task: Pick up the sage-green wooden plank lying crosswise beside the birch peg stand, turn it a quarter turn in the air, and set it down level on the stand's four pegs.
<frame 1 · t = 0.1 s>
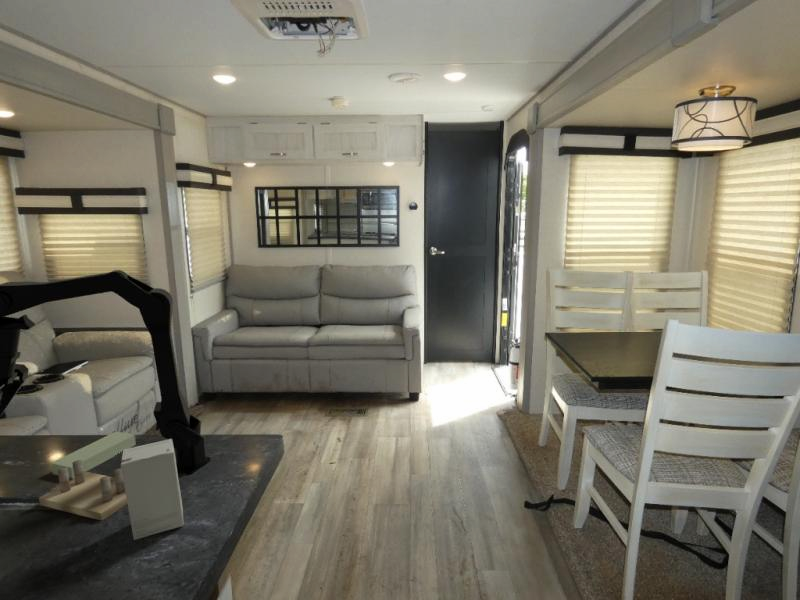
peg stand: (94, 497, 95), on the counter
plank: (96, 460, 110), on the counter
skincare box: (158, 526, 86), on the counter
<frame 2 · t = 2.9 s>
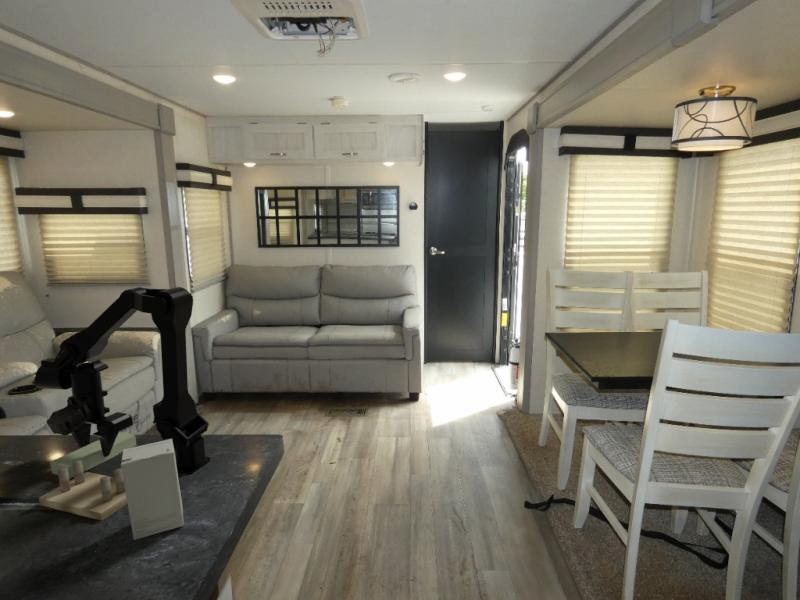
hand: (96, 454, 110), 1 cm above the counter, tool pointing down, fingers closed on plank, 6 cm apart
plank: (96, 459, 110), on the counter, touching gripper
everything else where it was.
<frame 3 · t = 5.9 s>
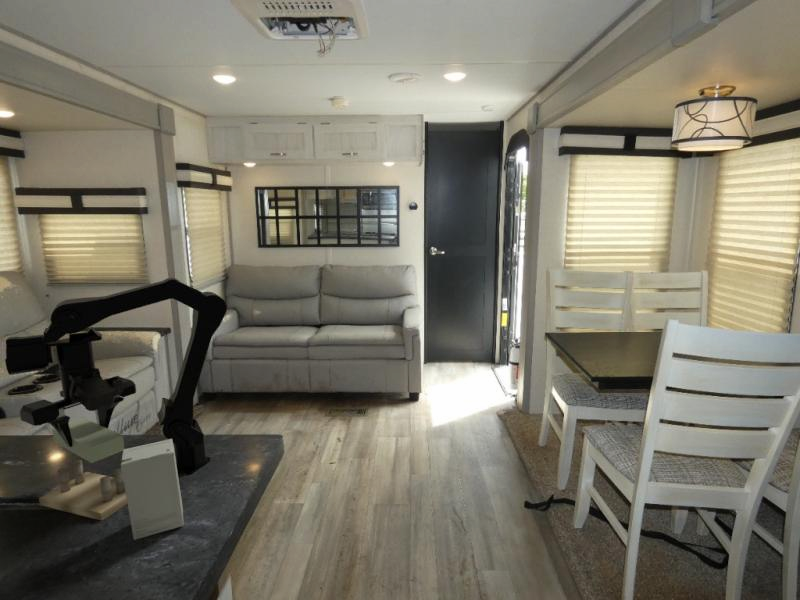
hand: (87, 439, 96), 11 cm above the counter, tool pointing down, fingers closed on plank, 6 cm apart
plank: (88, 445, 96), point 10 cm above the counter, touching gripper
everything else where it was.
when the fingers open (8 cm above the counter, at t = 7.8 s): plank stays where it is, resting on peg stand.
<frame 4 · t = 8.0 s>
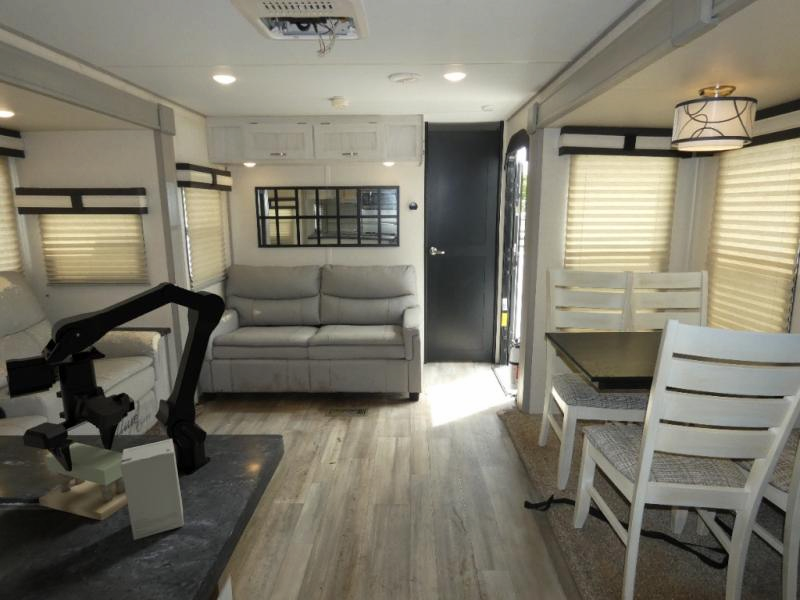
hand: (89, 460, 93), 8 cm above the counter, tool pointing down, fingers open, 8 cm apart
plank: (90, 469, 94), point 6 cm above the counter, touching peg stand
everything else where it was.
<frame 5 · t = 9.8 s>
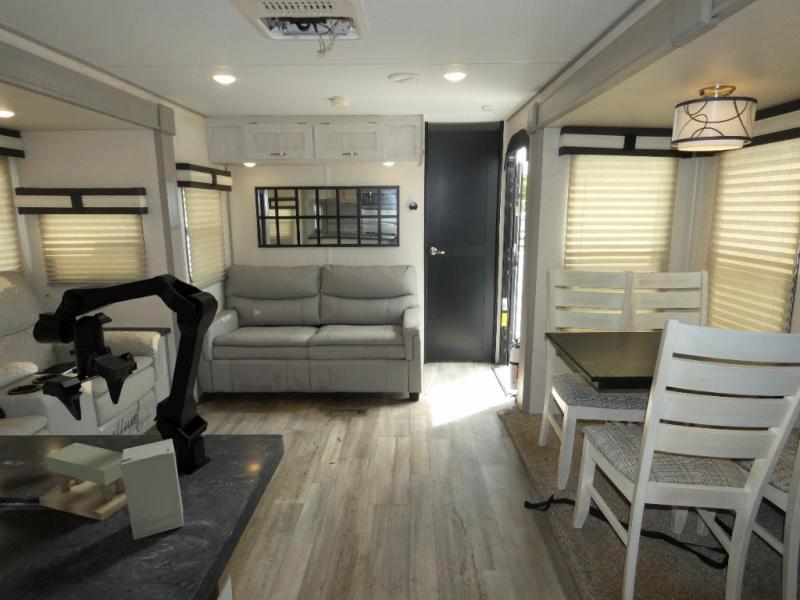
hand: (97, 411, 106), 12 cm above the counter, tool pointing down, fingers open, 9 cm apart
nothing on the counter moved.
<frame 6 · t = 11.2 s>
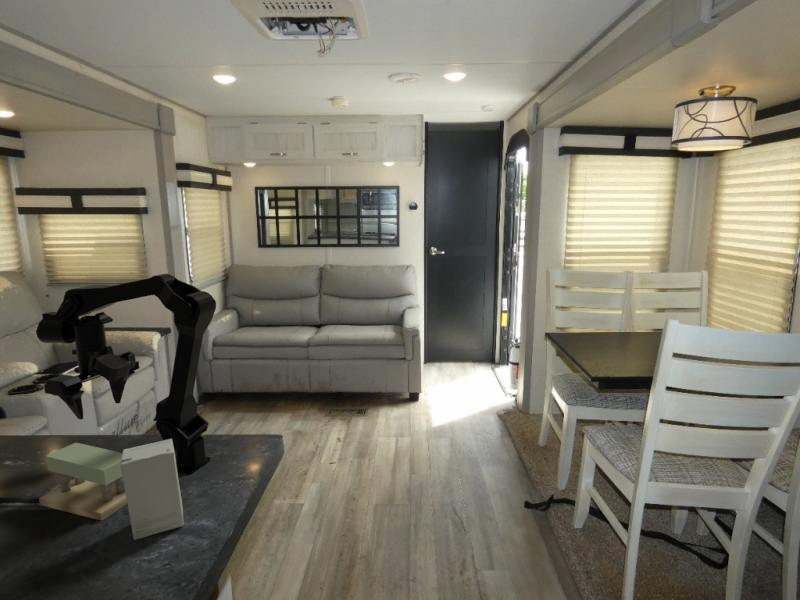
hand: (100, 410, 107), 12 cm above the counter, tool pointing down, fingers open, 9 cm apart
nothing on the counter moved.
at the end: plank 0.1 cm off-centre on the peg stand, point 6.0 cm above the peg stand's base; plank tilted 0°; the gripper is holding nothing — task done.
